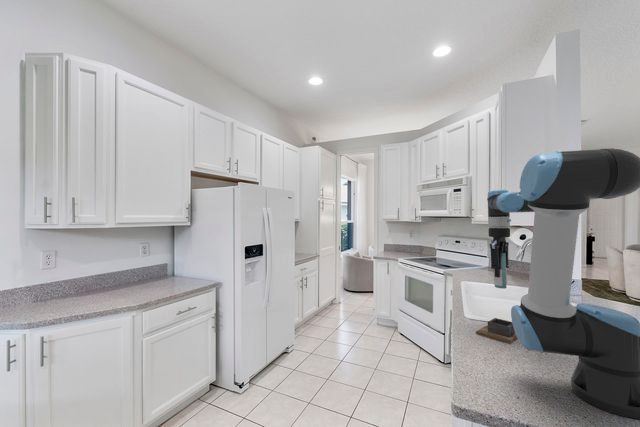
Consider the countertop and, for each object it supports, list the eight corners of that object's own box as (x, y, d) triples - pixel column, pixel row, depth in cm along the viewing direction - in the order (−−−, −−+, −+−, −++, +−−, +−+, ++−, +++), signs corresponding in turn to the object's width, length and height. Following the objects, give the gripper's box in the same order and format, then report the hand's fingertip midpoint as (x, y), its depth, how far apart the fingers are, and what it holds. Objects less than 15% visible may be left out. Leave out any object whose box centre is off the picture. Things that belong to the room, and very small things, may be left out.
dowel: (504, 289, 110) (503, 254, 110) (493, 287, 113) (492, 253, 114) (508, 287, 112) (507, 253, 113) (497, 285, 116) (496, 252, 116)
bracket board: (509, 344, 104) (509, 330, 104) (476, 334, 113) (475, 321, 114) (522, 334, 112) (521, 321, 113) (490, 326, 122) (489, 314, 122)
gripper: (501, 228, 105) (503, 289, 105) (516, 227, 116) (518, 282, 115) (480, 227, 111) (481, 285, 111) (497, 227, 122) (498, 280, 121)
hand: (500, 284), depth 113 cm, fingers closed on dowel, 4 cm apart
